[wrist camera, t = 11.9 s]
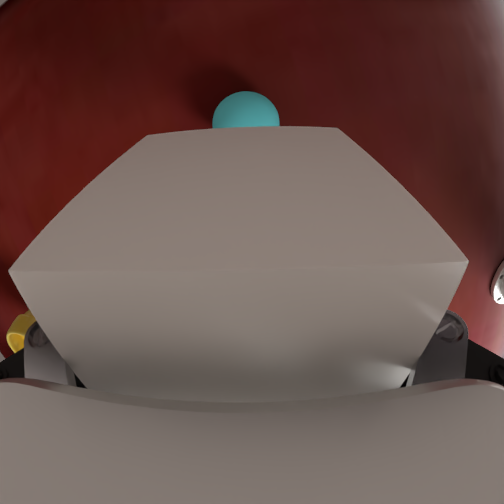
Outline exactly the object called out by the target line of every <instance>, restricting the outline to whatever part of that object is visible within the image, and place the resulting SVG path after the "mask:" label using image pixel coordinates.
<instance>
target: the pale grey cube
mask: <svg viewBox="0 0 504 504" xmlns="http://www.w3.org/2000/svg"><path fill="white" fill-rule="evenodd" d="M468 263H469V260H468V259H467V258H466V257H465V255H464V254H463V253H462V252H461V250H460V249H459V248H458V247H457V245H456V244H455V243H454V242H453V241H452V239H451V238H450V237H449V236H448V235H447V233H446V232H445V231H444V230H443V229H442V228H441V227H440V225H439V224H438V223H437V222H436V221H435V220H434V219H433V218H432V216H431V215H430V214H429V213H428V212H427V211H426V210H425V209H424V208H423V207H422V206H421V205H420V204H419V202H418V201H417V200H416V199H415V198H414V197H413V196H412V195H411V194H410V193H409V192H408V191H407V190H406V189H405V188H404V187H403V186H402V185H401V184H400V183H399V182H398V181H397V180H396V179H395V178H394V177H393V176H392V175H391V174H390V173H388V172H387V171H386V170H385V169H384V168H383V167H382V166H381V165H380V164H379V163H378V162H377V161H376V160H374V159H373V158H372V157H371V156H370V155H369V154H368V153H367V152H365V151H364V150H363V149H362V148H361V147H360V146H359V145H357V144H356V143H355V142H354V141H353V140H352V139H350V138H349V137H348V136H347V135H346V134H344V133H343V132H342V131H341V130H339V129H338V128H330V127H301V126H262V127H232V128H215V129H201V130H190V131H179V132H170V133H162V134H154V135H147V136H146V137H144V138H143V139H142V140H141V141H139V142H138V143H137V144H135V145H134V146H133V147H132V148H130V149H129V150H128V151H127V152H125V153H124V154H123V155H122V156H120V157H119V158H118V159H117V160H116V161H114V162H113V163H112V164H111V165H110V166H109V167H107V168H106V169H105V170H104V171H103V172H102V173H101V174H99V175H98V176H97V177H96V178H95V179H94V180H93V181H92V182H91V183H89V184H88V185H87V186H86V187H85V188H84V189H83V190H82V191H81V192H80V193H79V194H78V195H77V196H76V197H75V198H73V199H72V200H71V201H70V202H69V203H68V204H67V205H66V206H65V207H64V208H63V209H62V210H61V211H60V212H59V213H58V214H57V215H56V217H55V218H54V219H53V220H52V221H51V222H50V223H49V224H48V225H47V226H46V227H45V228H44V229H43V230H42V231H41V233H40V234H39V235H38V236H37V237H36V238H35V239H34V240H33V241H32V243H31V244H30V245H29V246H28V247H27V248H26V250H25V251H24V252H23V253H22V254H21V256H20V257H19V258H18V259H17V260H16V262H15V263H14V264H13V265H12V267H11V268H10V269H9V270H8V272H9V274H10V276H11V278H12V280H13V282H14V283H15V285H16V287H17V289H18V291H19V292H20V294H21V296H22V298H23V299H24V301H25V303H26V304H27V306H28V308H29V309H30V311H31V313H32V314H33V316H34V317H35V319H36V321H37V322H38V324H39V325H40V327H41V328H42V330H43V331H44V333H45V334H46V336H47V337H48V339H49V340H50V341H51V343H52V344H53V346H54V347H55V348H56V350H57V351H58V353H59V354H60V355H61V357H62V358H63V359H64V360H65V361H66V362H67V364H68V365H69V366H70V367H71V369H72V370H73V371H74V373H75V375H76V376H77V377H78V378H79V379H80V381H81V382H82V383H83V384H84V385H85V387H86V388H87V389H91V390H97V391H103V392H109V393H116V394H123V395H130V396H138V397H147V398H157V399H168V400H181V401H198V402H281V401H299V400H312V399H323V398H333V397H342V396H350V395H358V394H365V393H371V392H378V391H385V390H391V389H397V388H400V386H401V385H402V384H403V382H404V381H405V379H406V378H407V376H408V375H409V373H410V370H411V368H412V367H413V365H414V363H415V362H416V360H417V359H418V357H419V356H421V354H422V353H423V351H424V350H425V348H426V346H427V345H428V343H429V341H430V339H431V338H432V336H433V334H434V332H435V331H436V329H437V327H438V325H439V323H440V322H441V320H442V318H443V316H444V314H445V312H446V310H447V308H448V306H449V304H450V302H451V300H452V298H453V296H454V294H455V292H456V290H457V288H458V286H459V283H460V281H461V279H462V277H463V274H464V272H465V270H466V267H467V265H468Z"/></svg>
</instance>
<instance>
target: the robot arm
mask: <svg viewBox="0 0 504 504" xmlns="http://www.w3.org/2000/svg"><path fill="white" fill-rule="evenodd" d="M491 296H492V297H493V299H494V300H495V302H496V303H499V304H504V260H503V262H502V263H501V265H500V266H499V268H498V270H497V272H496V274H495V276H494V278H493V281H492V285H491ZM0 504H504V359H503V358H501V357H500V356H498V355H496V354H494V353H493V352H491V351H489V350H487V349H485V348H484V347H482V346H480V345H478V344H476V343H474V342H473V341H471V340H469V339H468V328H467V326H466V323H465V322H464V321H463V319H462V318H461V317H460V316H459V315H457V314H456V313H454V312H452V311H450V310H446V312H445V314H444V316H443V318H442V320H441V322H440V323H439V325H438V327H437V329H436V331H435V332H434V334H433V336H432V338H431V339H430V341H429V343H428V345H427V346H426V348H425V350H424V351H423V353H422V354H421V356H419V357H418V359H417V360H416V362H415V363H414V365H413V367H412V368H411V370H410V373H409V375H408V376H407V378H406V379H405V381H404V382H403V384H402V385H401V386H400V388H397V389H391V390H385V391H378V392H371V393H365V394H358V395H350V396H342V397H333V398H323V399H312V400H299V401H281V402H198V401H181V400H168V399H157V398H147V397H138V396H130V395H123V394H116V393H109V392H103V391H97V390H91V389H87V388H86V387H85V385H84V384H83V383H82V382H81V381H80V379H79V378H78V377H77V376H76V375H75V373H74V371H73V370H72V369H71V367H70V366H69V365H68V364H67V362H66V361H65V360H64V359H63V358H62V357H61V355H60V354H59V353H58V351H57V350H56V348H55V347H54V346H53V344H52V343H51V341H50V340H49V339H48V337H47V336H46V334H45V333H44V331H43V330H42V328H41V327H40V325H39V324H38V322H37V321H35V322H34V323H33V324H32V325H31V326H30V327H29V328H28V330H27V332H26V334H25V337H24V348H22V349H21V350H19V351H17V352H16V353H14V354H13V355H11V356H10V357H8V358H6V359H5V360H3V361H2V362H0Z"/></svg>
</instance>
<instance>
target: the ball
mask: <svg viewBox="0 0 504 504" xmlns="http://www.w3.org/2000/svg"><path fill="white" fill-rule="evenodd" d="M262 126H279V115H278V112H277V110H276V108H275V106H274V105H273V104H272V102H271V101H270V100H269V99H267V98H266V97H265V96H263V95H261V94H259V93H256V92H250V91H242V92H237V93H234V94H231V95H229V96H228V97H226V98H225V99H224V100H223V101H221V103H220V104H219V105H218V106H217V108H216V110H215V112H214V116H213V129H215V128H232V127H262Z"/></svg>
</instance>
